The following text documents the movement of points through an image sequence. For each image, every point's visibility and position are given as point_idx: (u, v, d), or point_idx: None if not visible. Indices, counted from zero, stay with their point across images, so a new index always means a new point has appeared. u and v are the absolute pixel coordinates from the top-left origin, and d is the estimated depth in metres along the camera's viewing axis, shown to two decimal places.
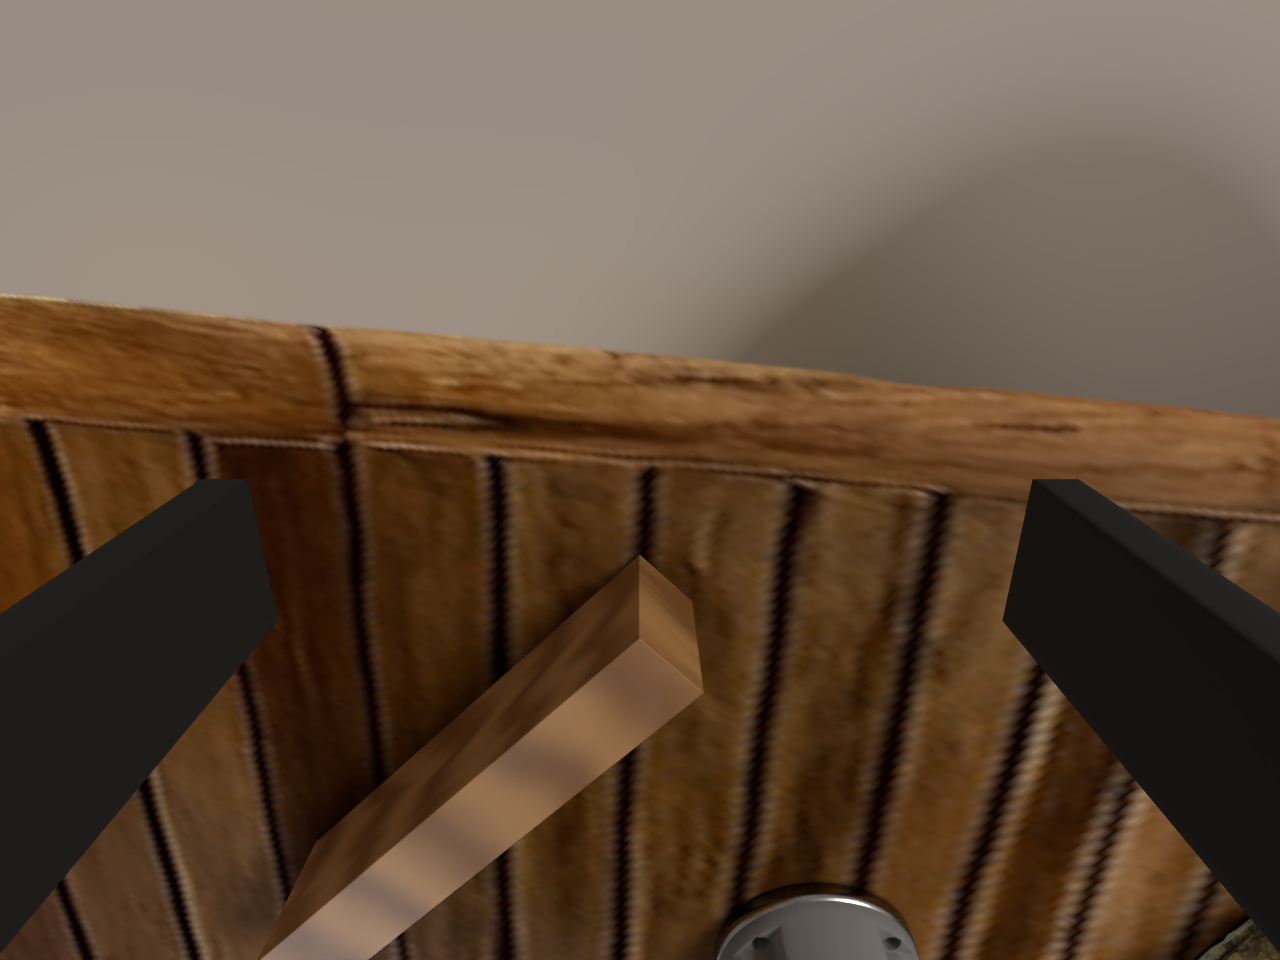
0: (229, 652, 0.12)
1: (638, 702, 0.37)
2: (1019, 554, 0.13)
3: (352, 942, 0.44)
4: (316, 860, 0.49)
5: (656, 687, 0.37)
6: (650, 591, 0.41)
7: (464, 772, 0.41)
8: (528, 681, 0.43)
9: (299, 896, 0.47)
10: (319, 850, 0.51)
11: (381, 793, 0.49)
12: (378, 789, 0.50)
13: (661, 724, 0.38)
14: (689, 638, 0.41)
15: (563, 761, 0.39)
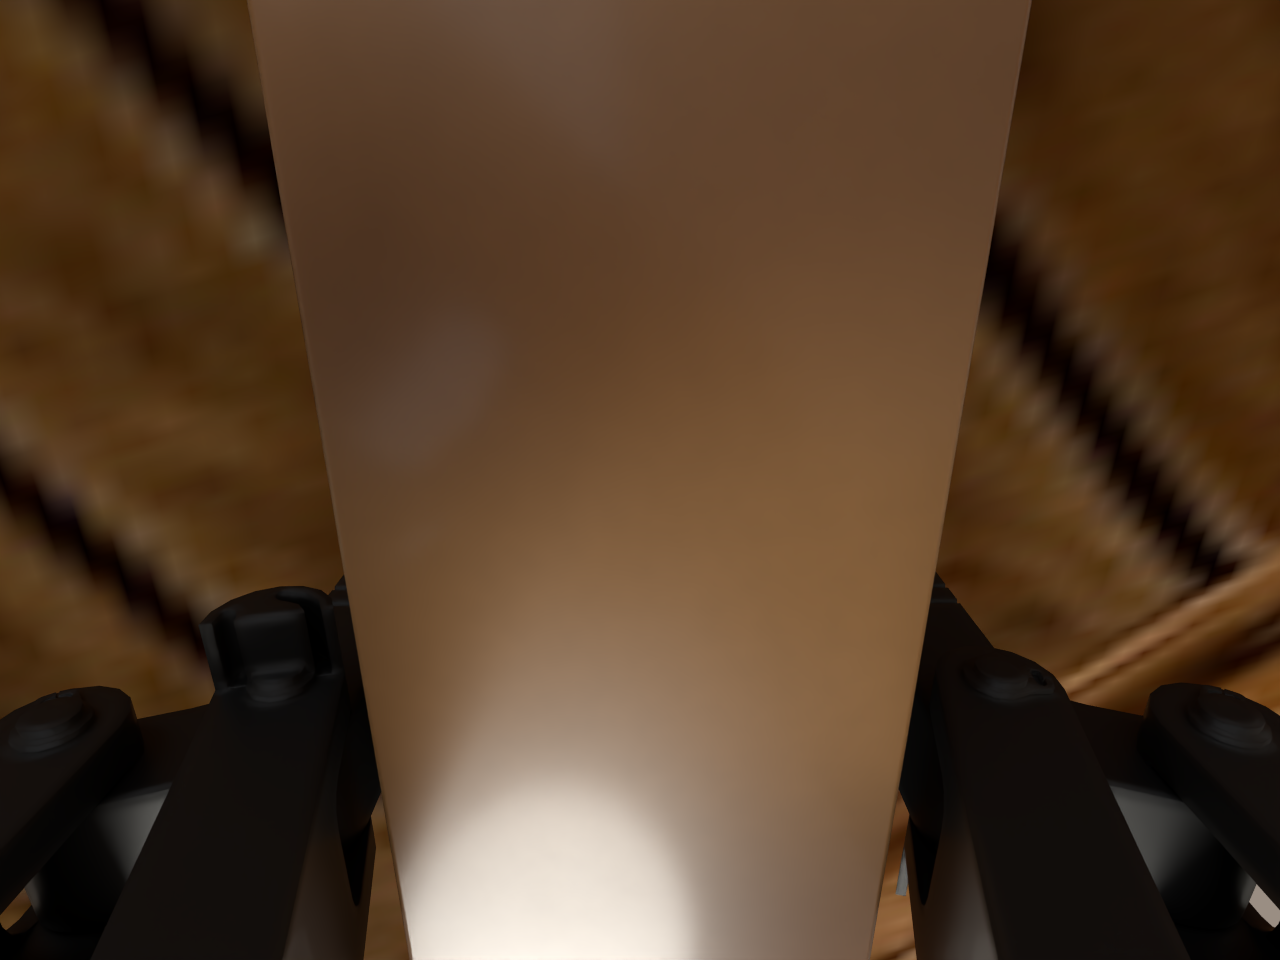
0: None
1: (601, 918, 0.07)
2: None
3: None
4: None
5: None
6: None
7: None
8: None
9: None
10: None
11: None
12: None
13: (410, 908, 0.07)
14: None
15: (602, 361, 0.05)
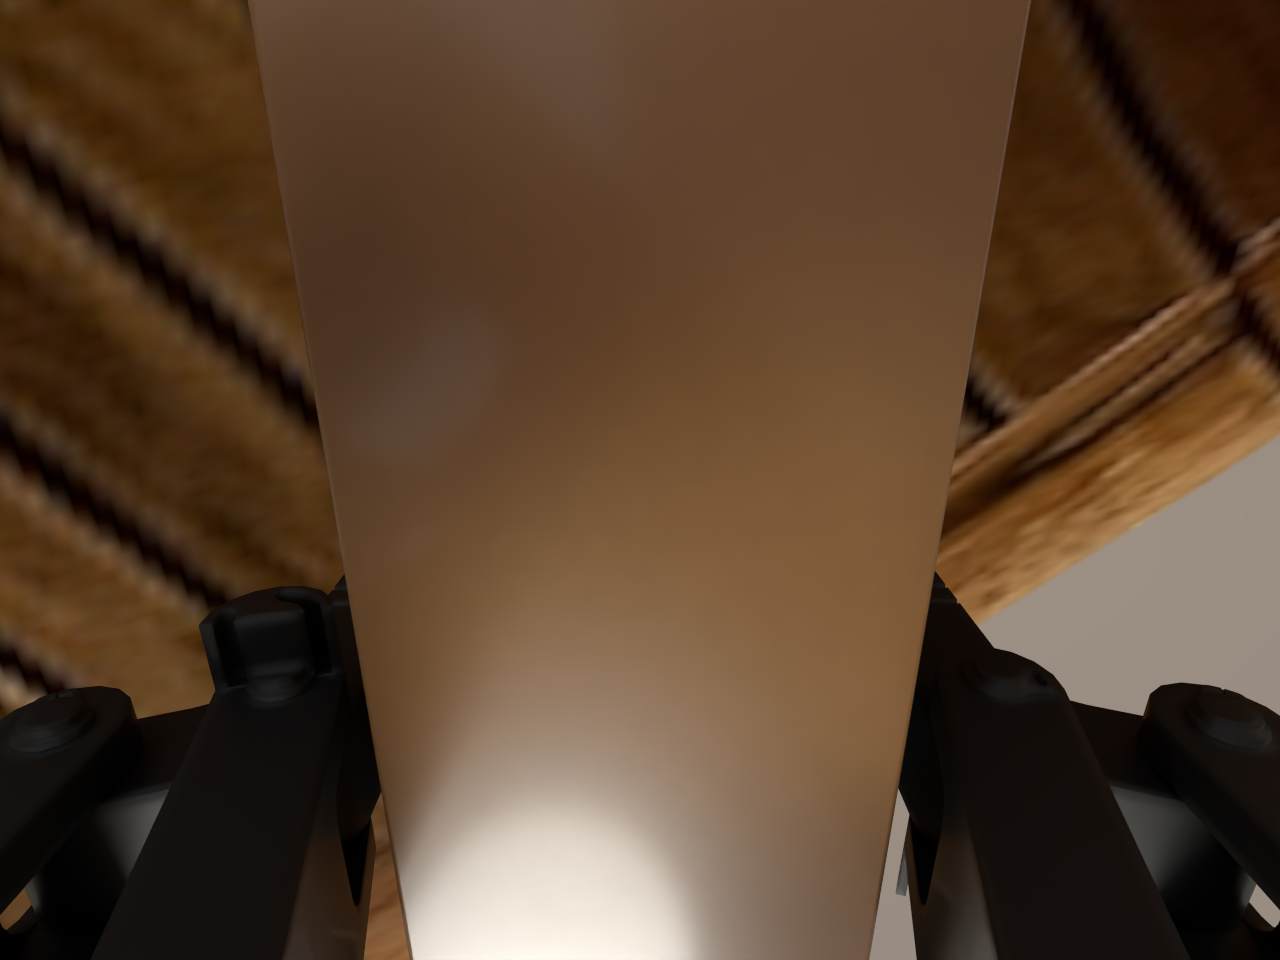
0: None
1: (601, 920, 0.07)
2: None
3: None
4: None
5: None
6: None
7: None
8: None
9: None
10: None
11: None
12: None
13: (411, 909, 0.07)
14: None
15: (602, 364, 0.05)
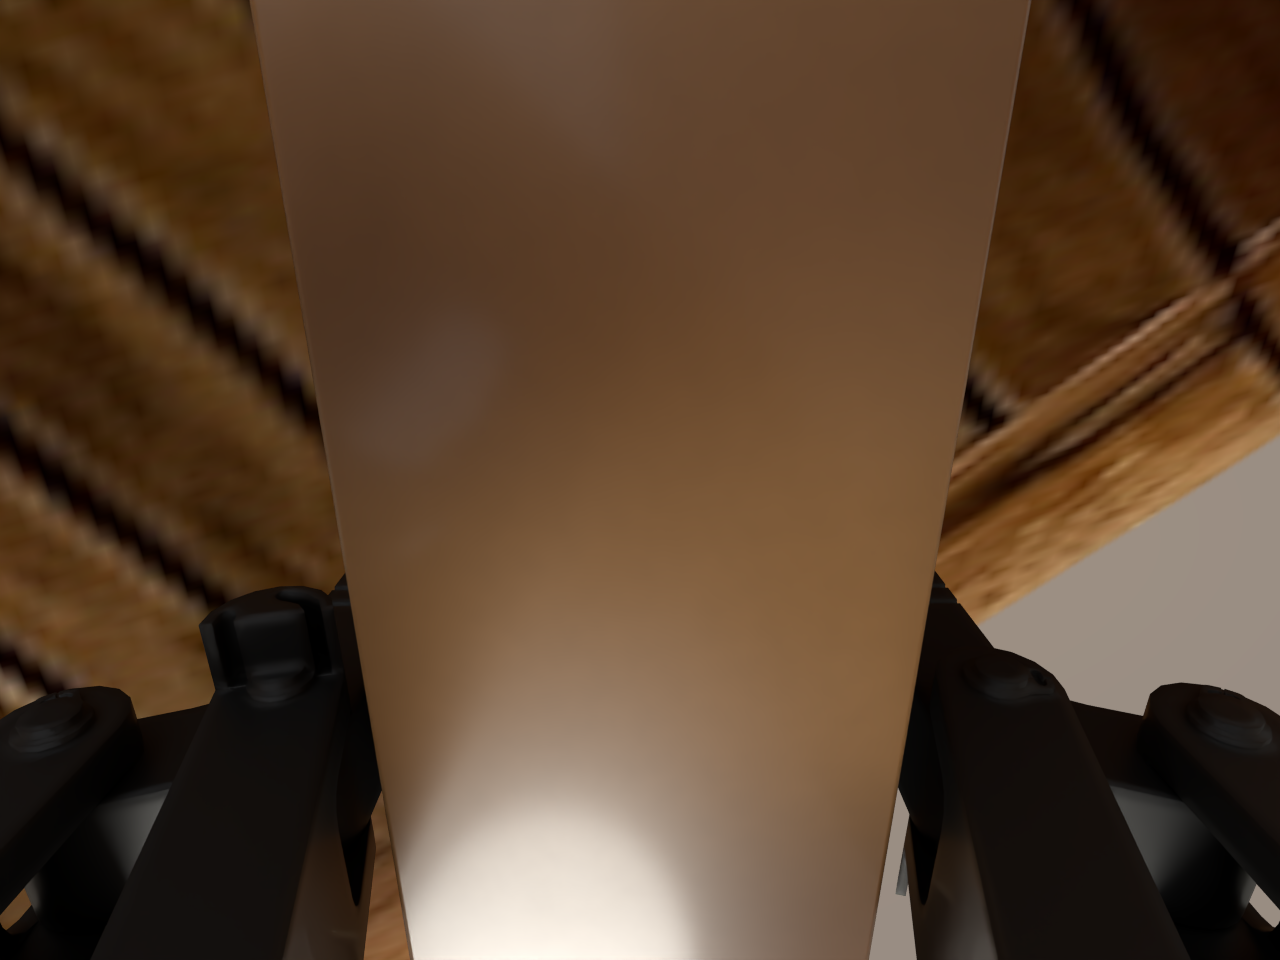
0: None
1: (600, 919, 0.07)
2: None
3: None
4: None
5: None
6: None
7: None
8: None
9: None
10: None
11: None
12: None
13: (411, 908, 0.07)
14: None
15: (603, 362, 0.05)
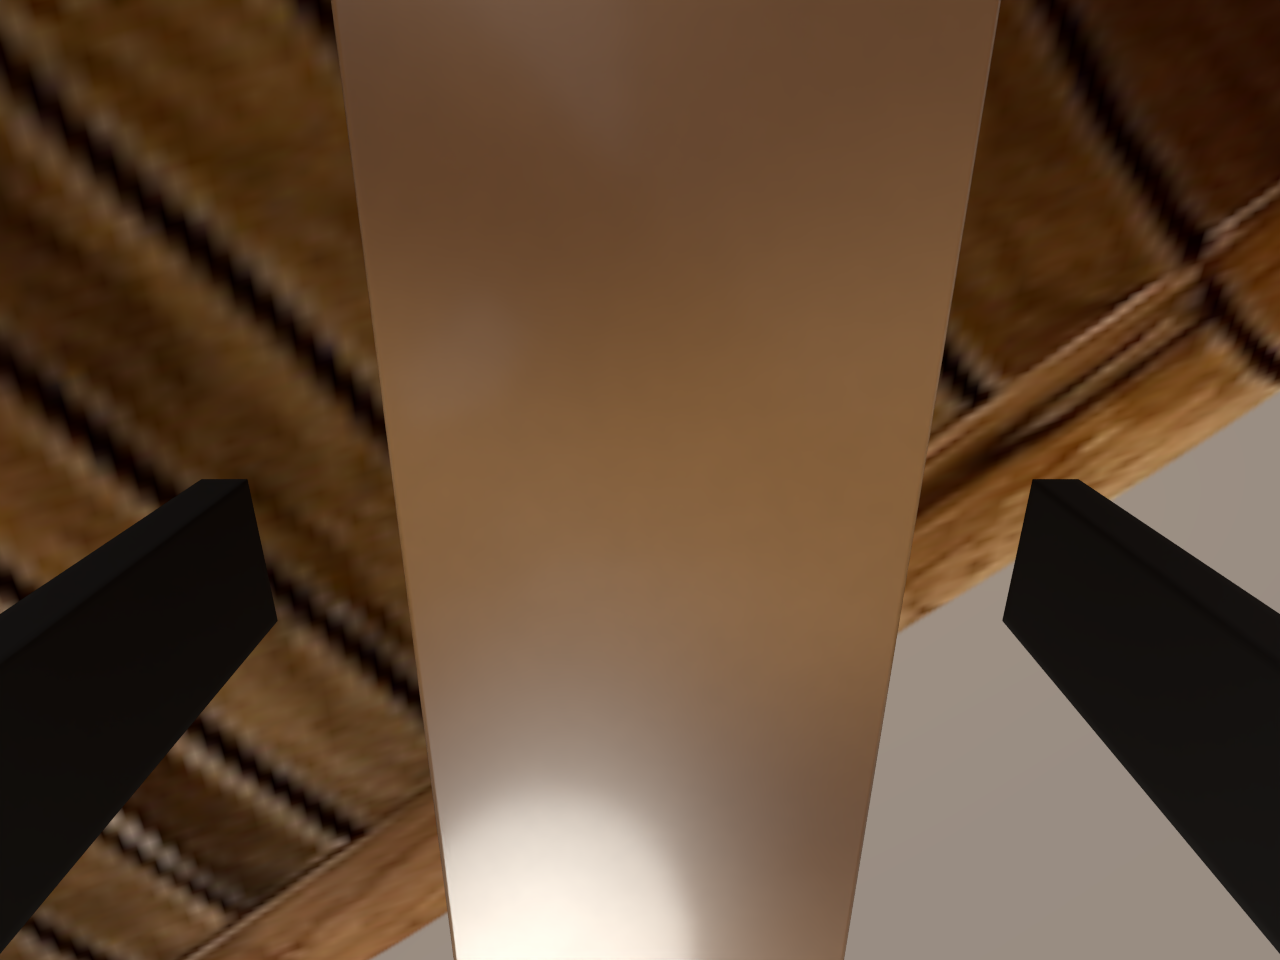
0: (229, 652, 0.12)
1: (614, 787, 0.08)
2: (1019, 554, 0.13)
3: None
4: None
5: (618, 877, 0.08)
6: None
7: None
8: None
9: None
10: None
11: None
12: None
13: (439, 775, 0.08)
14: None
15: (628, 235, 0.06)
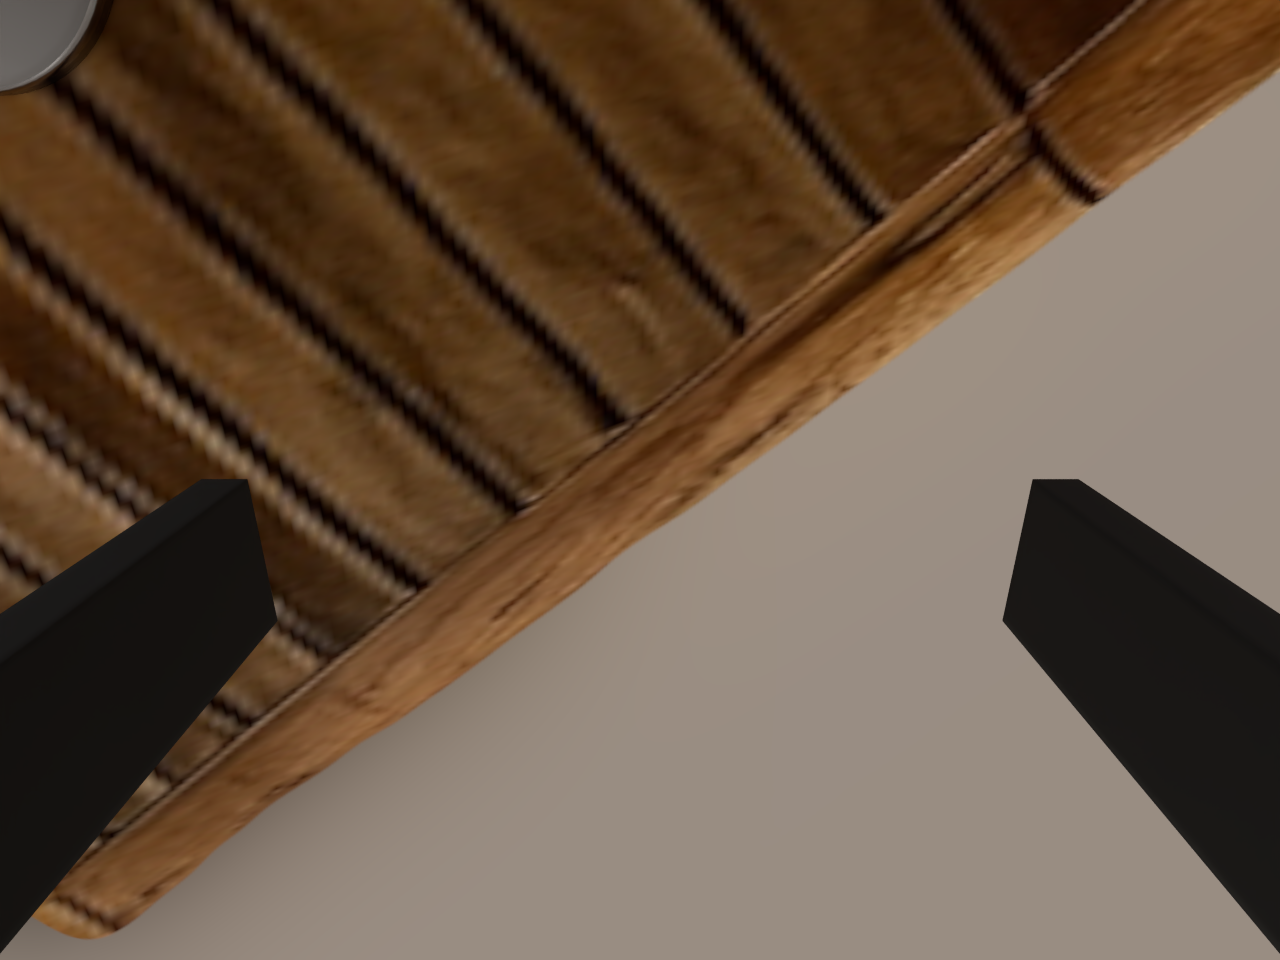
0: (229, 652, 0.12)
1: None
2: (1019, 553, 0.13)
3: None
4: None
5: None
6: None
7: None
8: None
9: None
10: None
11: None
12: None
13: None
14: None
15: None
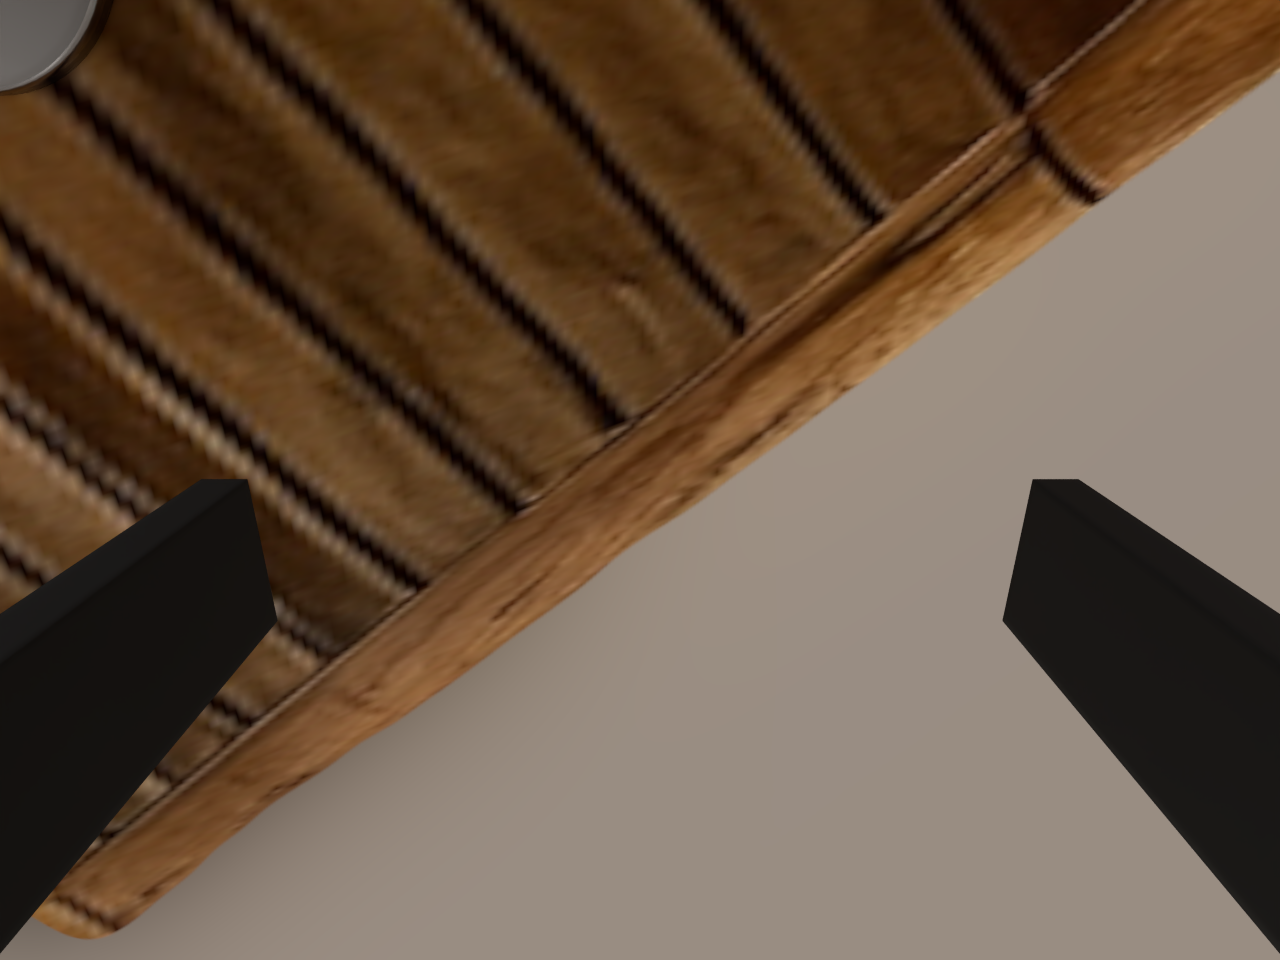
0: (229, 652, 0.12)
1: None
2: (1019, 553, 0.13)
3: None
4: None
5: None
6: None
7: None
8: None
9: None
10: None
11: None
12: None
13: None
14: None
15: None
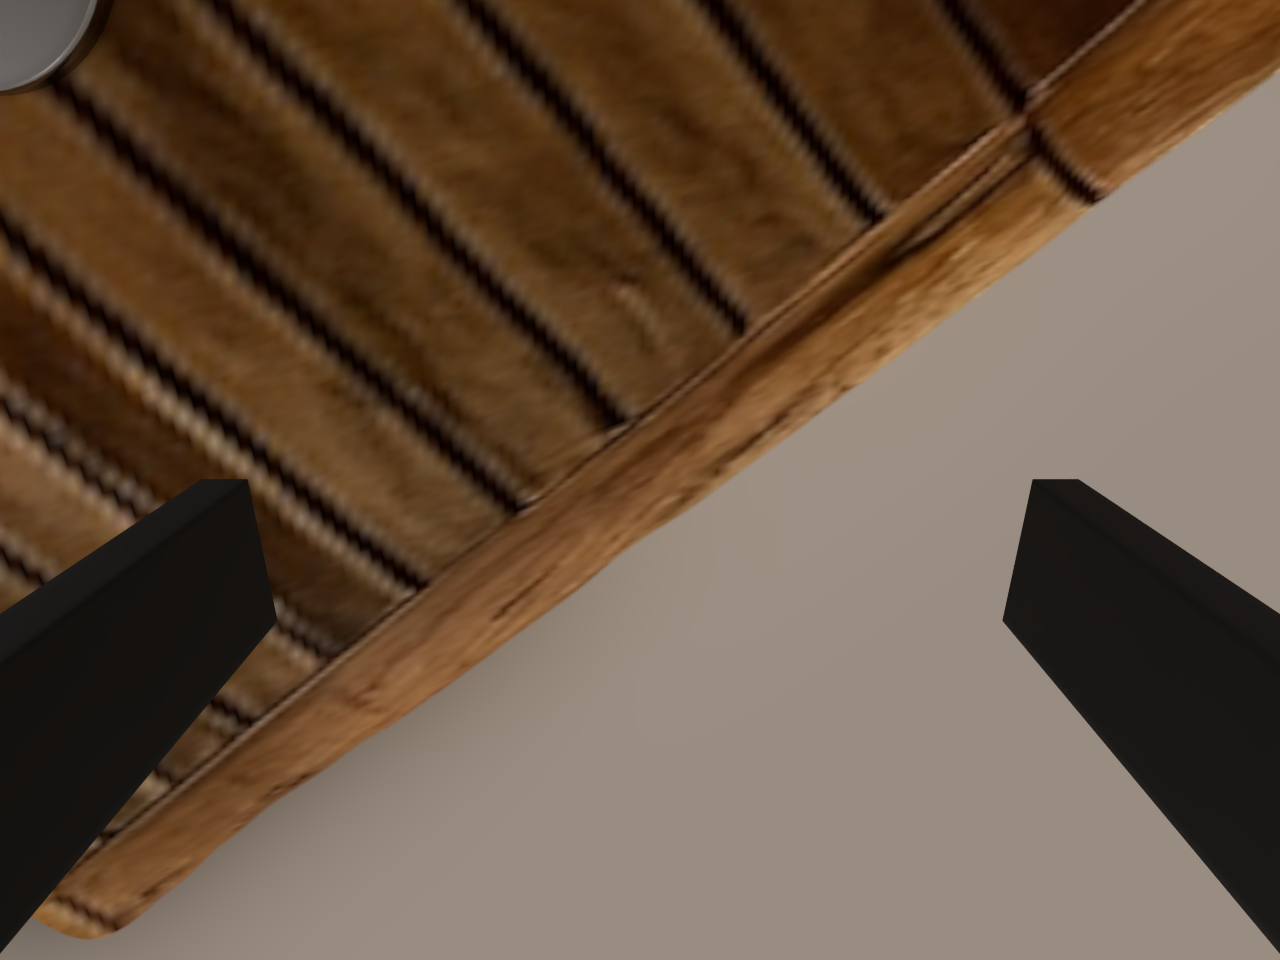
0: (229, 652, 0.12)
1: None
2: (1019, 553, 0.13)
3: None
4: None
5: None
6: None
7: None
8: None
9: None
10: None
11: None
12: None
13: None
14: None
15: None
